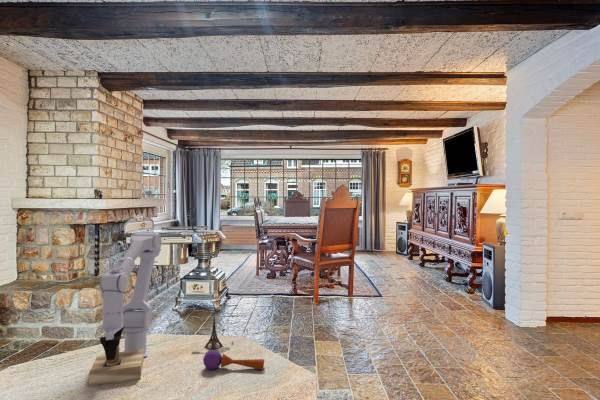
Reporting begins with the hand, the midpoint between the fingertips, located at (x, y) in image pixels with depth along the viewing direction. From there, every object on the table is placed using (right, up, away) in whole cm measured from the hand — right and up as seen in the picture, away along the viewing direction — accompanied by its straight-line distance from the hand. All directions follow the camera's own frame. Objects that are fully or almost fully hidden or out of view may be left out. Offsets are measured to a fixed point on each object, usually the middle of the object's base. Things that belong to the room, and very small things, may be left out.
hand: (112, 354), depth 111 cm
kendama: (+37, -8, +6) cm, 38 cm away
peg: (0, -6, 0) cm, 6 cm away
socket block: (+1, -7, +2) cm, 7 cm away
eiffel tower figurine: (+26, -8, +22) cm, 35 cm away
